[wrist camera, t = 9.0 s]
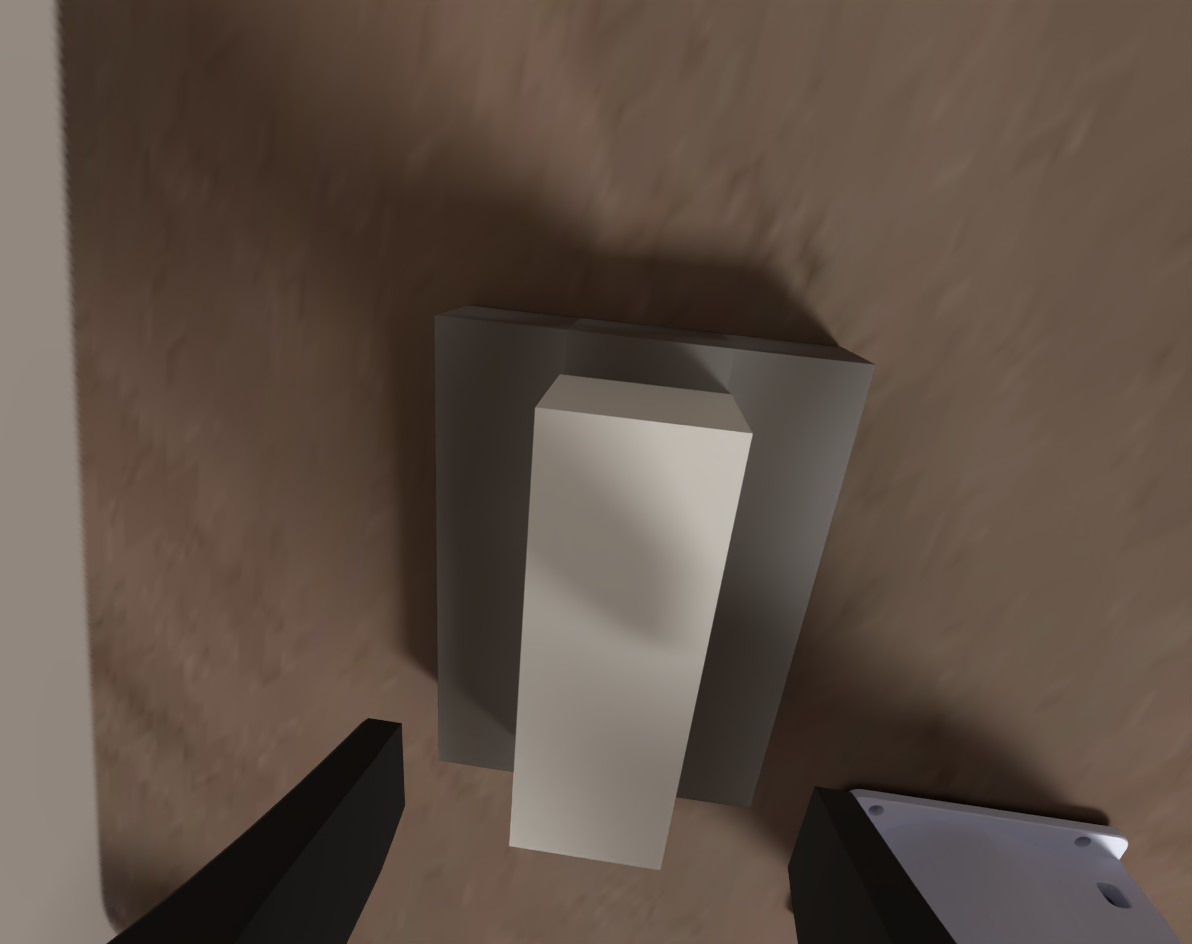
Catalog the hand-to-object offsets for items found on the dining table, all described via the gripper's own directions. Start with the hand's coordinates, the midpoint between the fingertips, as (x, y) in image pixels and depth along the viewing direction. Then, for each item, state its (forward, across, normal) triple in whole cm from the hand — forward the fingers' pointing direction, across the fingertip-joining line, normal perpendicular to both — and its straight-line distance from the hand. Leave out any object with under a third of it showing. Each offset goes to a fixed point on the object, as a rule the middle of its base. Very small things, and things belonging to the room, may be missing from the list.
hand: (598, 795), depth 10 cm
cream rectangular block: (+8, 0, 0) cm, 8 cm away
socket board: (+8, 0, 0) cm, 8 cm away
